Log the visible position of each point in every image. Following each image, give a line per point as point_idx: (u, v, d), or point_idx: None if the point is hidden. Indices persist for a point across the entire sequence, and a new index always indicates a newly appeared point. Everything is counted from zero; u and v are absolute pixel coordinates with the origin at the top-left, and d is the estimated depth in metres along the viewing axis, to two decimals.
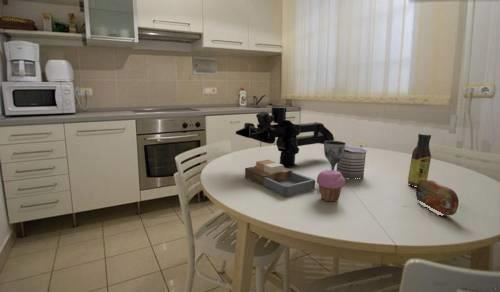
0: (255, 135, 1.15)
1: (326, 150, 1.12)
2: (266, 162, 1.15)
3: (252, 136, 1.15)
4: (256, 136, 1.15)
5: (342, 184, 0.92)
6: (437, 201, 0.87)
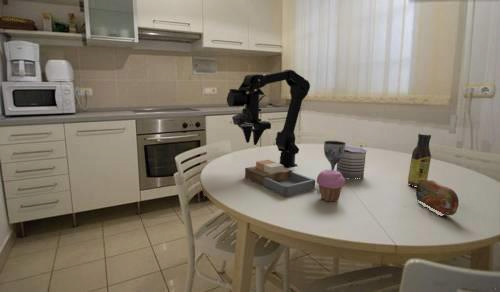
0: (256, 138, 1.20)
1: (326, 150, 1.12)
2: (266, 162, 1.15)
3: (256, 141, 1.20)
4: (257, 138, 1.19)
5: (342, 184, 0.92)
6: (437, 201, 0.87)
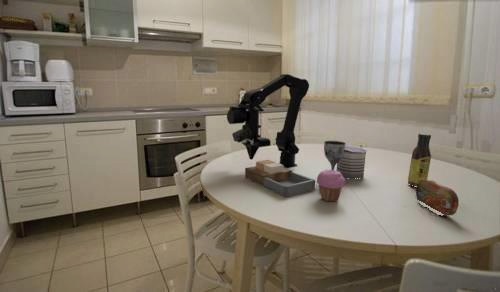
0: (252, 153, 1.23)
1: (326, 150, 1.12)
2: (266, 162, 1.15)
3: (252, 156, 1.24)
4: (253, 152, 1.23)
5: (342, 184, 0.92)
6: (437, 201, 0.87)
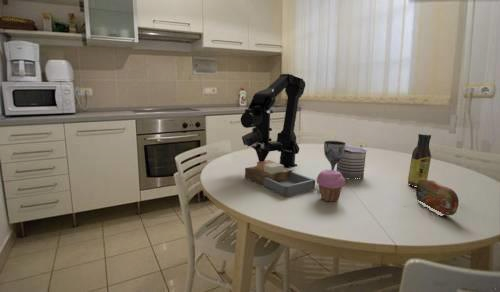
0: (262, 157, 1.17)
1: (326, 150, 1.12)
2: (267, 162, 1.15)
3: (262, 160, 1.18)
4: (263, 157, 1.17)
5: (342, 184, 0.92)
6: (437, 201, 0.87)
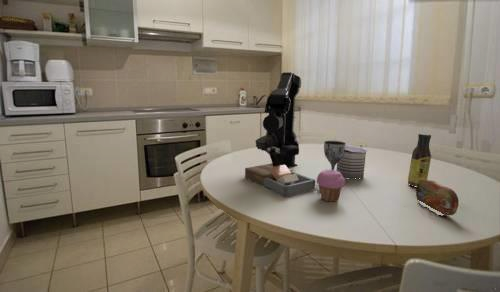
0: (277, 162, 1.10)
1: (326, 150, 1.12)
2: (282, 171, 1.07)
3: (277, 165, 1.11)
4: (278, 162, 1.10)
5: (342, 184, 0.92)
6: (437, 201, 0.87)
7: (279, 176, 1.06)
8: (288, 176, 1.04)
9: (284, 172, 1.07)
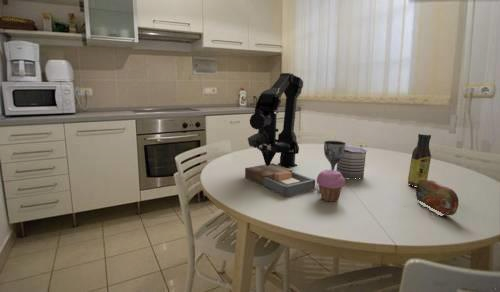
0: (268, 159, 1.14)
1: (326, 150, 1.12)
2: None
3: (269, 162, 1.15)
4: (270, 158, 1.14)
5: (342, 184, 0.92)
6: (437, 201, 0.87)
7: None
8: None
9: None
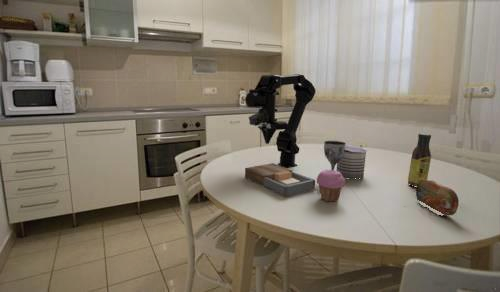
0: (268, 137, 1.22)
1: (326, 150, 1.12)
2: None
3: (268, 140, 1.23)
4: (269, 137, 1.22)
5: (342, 184, 0.92)
6: (437, 201, 0.87)
7: None
8: None
9: None
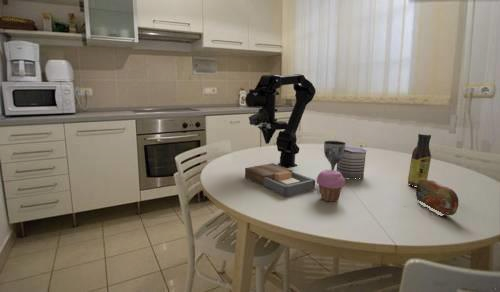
0: (268, 137, 1.22)
1: (326, 150, 1.12)
2: None
3: (268, 140, 1.23)
4: (269, 136, 1.22)
5: (342, 184, 0.92)
6: (437, 201, 0.87)
7: None
8: None
9: None
